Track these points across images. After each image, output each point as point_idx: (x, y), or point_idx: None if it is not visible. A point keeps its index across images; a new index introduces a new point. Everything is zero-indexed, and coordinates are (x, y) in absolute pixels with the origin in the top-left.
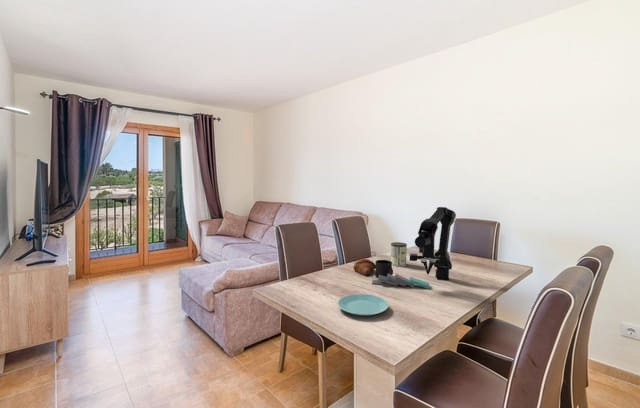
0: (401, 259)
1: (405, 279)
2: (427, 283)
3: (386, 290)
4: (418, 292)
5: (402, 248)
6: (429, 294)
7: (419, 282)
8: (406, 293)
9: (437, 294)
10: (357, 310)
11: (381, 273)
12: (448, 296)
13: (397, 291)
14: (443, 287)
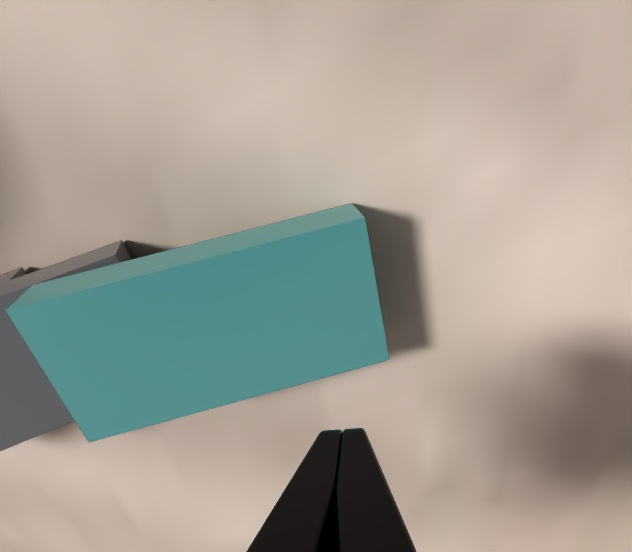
0: None
1: (10, 385)
2: (349, 282)
3: (6, 498)
4: (279, 466)
5: None
6: (396, 482)
7: (234, 395)
8: (185, 512)
9: (484, 462)
10: None
11: None
12: (607, 479)
13: (95, 494)
14: (622, 182)
